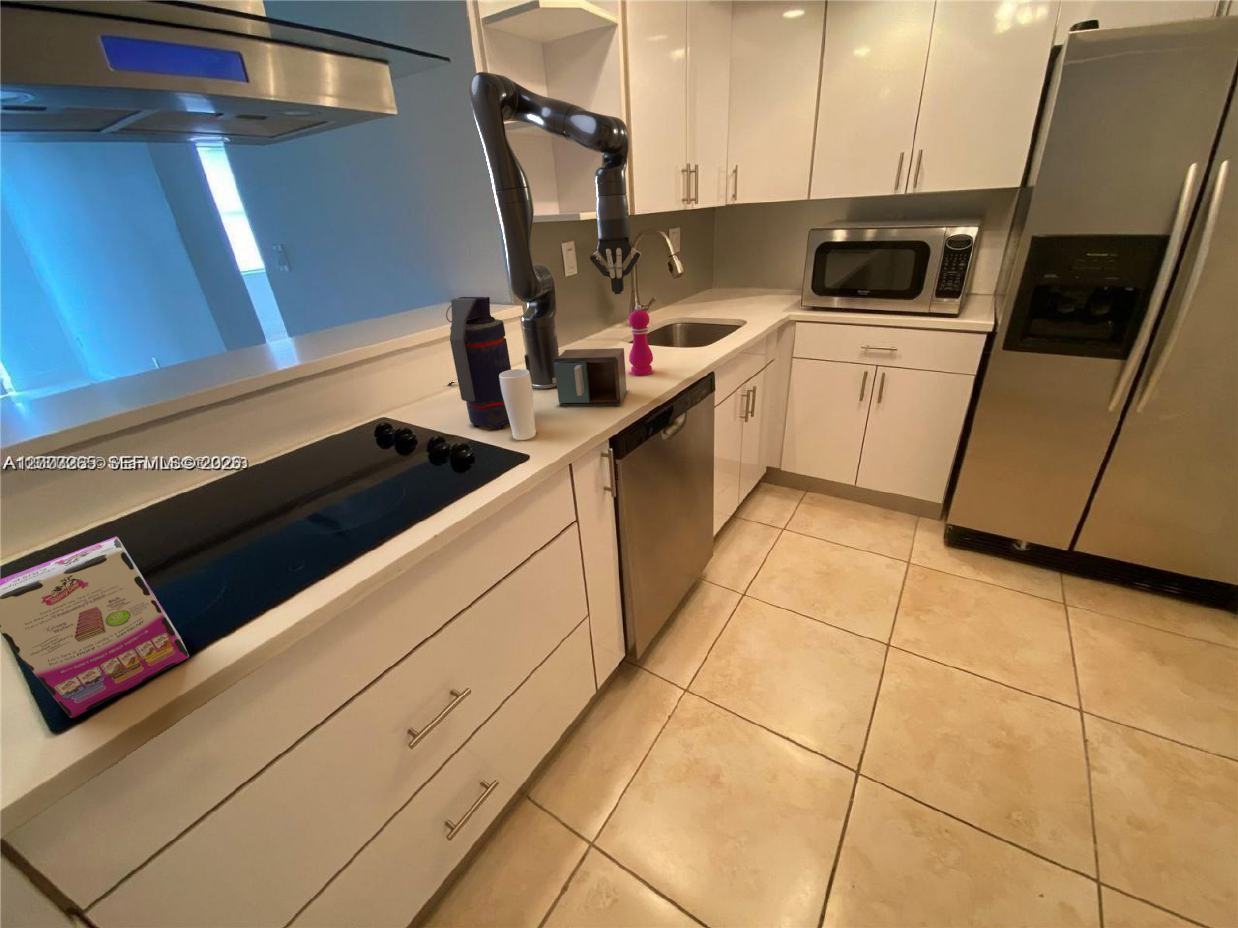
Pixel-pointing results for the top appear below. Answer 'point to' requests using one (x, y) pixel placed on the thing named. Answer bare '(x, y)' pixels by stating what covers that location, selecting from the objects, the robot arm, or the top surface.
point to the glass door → (572, 382)
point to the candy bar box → (88, 625)
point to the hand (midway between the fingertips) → (618, 293)
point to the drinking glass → (518, 402)
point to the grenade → (479, 359)
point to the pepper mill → (640, 343)
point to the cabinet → (600, 374)
